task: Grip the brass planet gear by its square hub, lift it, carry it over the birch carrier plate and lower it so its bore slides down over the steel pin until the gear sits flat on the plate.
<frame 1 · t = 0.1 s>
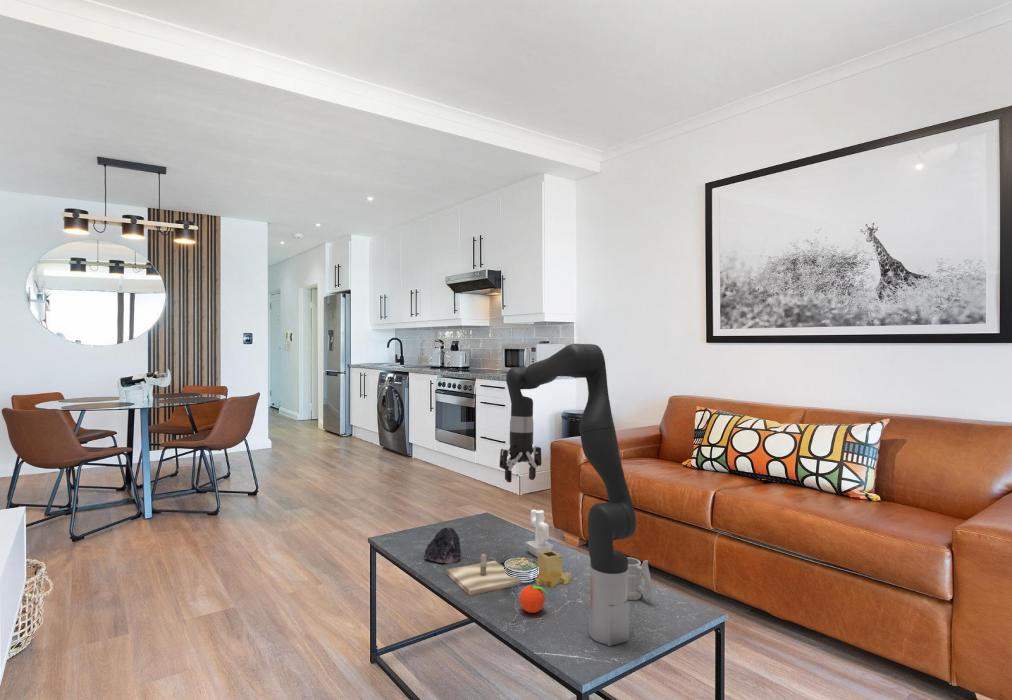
hand: (520, 480, 182), 29 cm above the table, tool pointing down, fingers open, 8 cm apart
planet gear: (549, 578, 177), on the table
figurine: (538, 554, 198), on the table
mug: (634, 598, 165), on the table
black rock: (443, 558, 193), on the table
clementine: (533, 612, 155), on the table
carrier plate: (483, 579, 175), on the table
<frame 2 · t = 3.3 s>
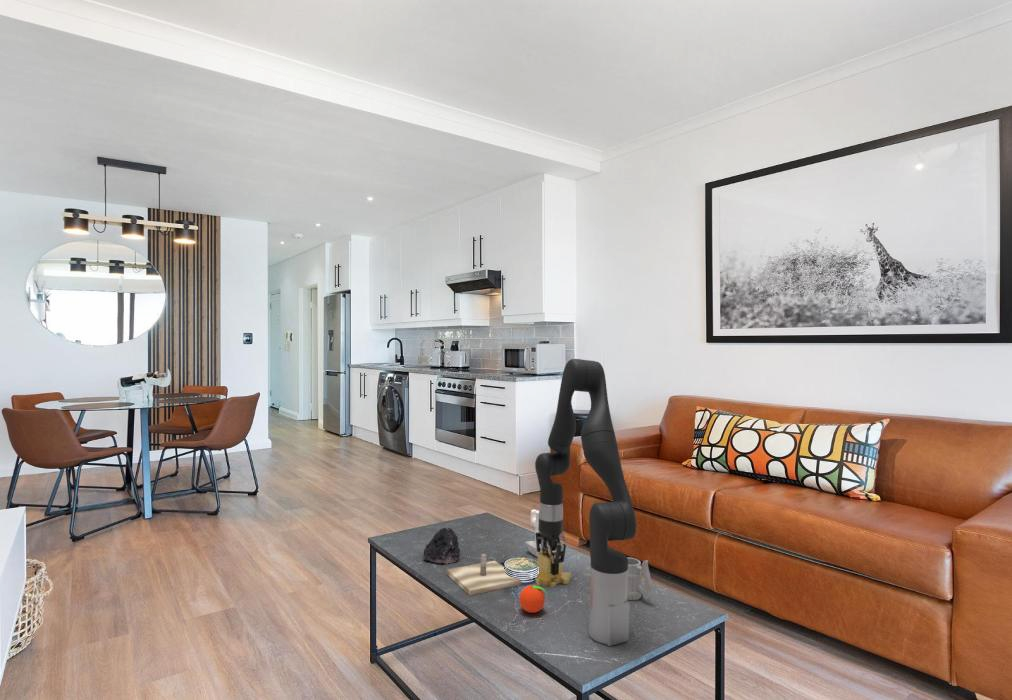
hand: (549, 570, 177), 2 cm above the table, tool pointing down, fingers closed on planet gear, 5 cm apart
planet gear: (549, 578, 177), on the table, touching gripper
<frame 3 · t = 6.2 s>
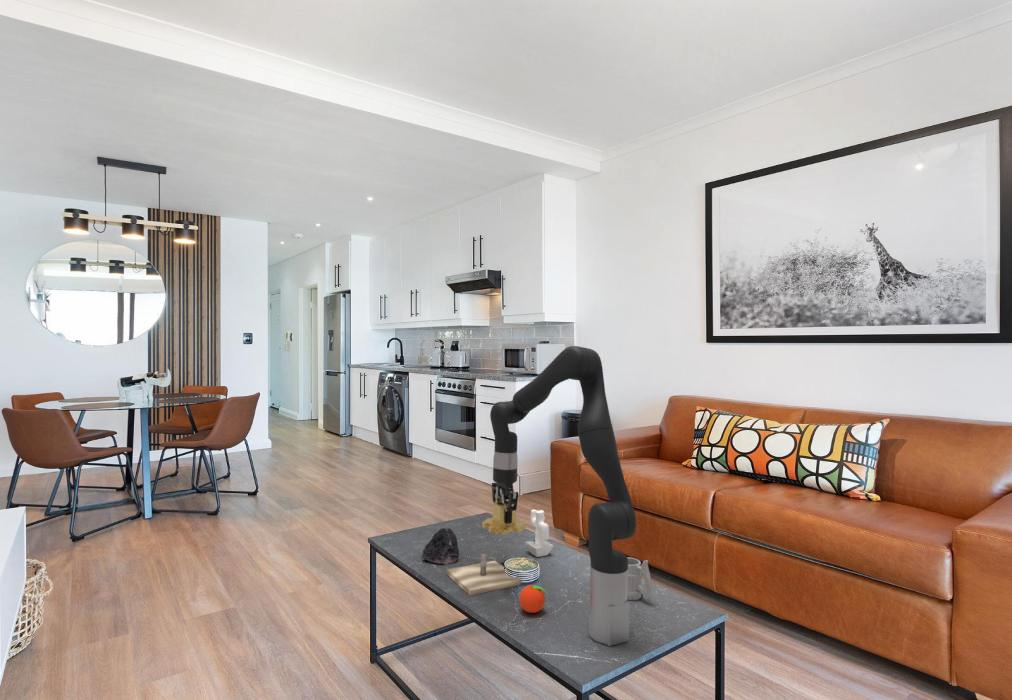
hand: (503, 520, 177), 18 cm above the table, tool pointing down, fingers closed on planet gear, 5 cm apart
planet gear: (503, 527, 177), point 16 cm above the table, touching gripper
when the fingers open (5 cm above the table, at t = 9.2 s): planet gear stays where it is, resting on carrier plate.
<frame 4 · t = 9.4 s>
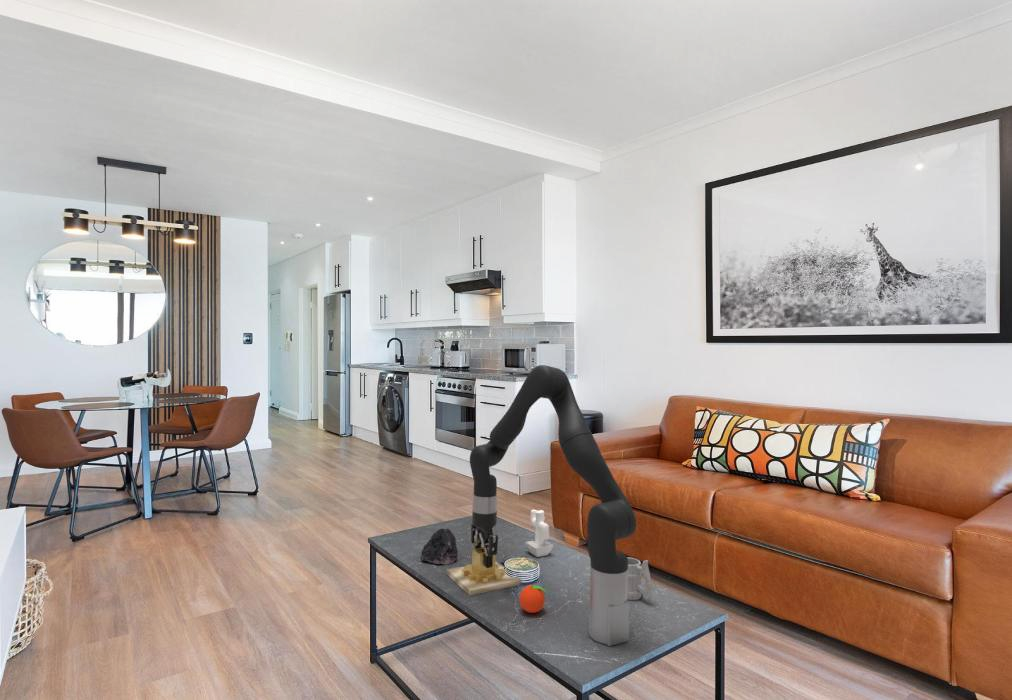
hand: (483, 563, 175), 5 cm above the table, tool pointing down, fingers open, 6 cm apart
planet gear: (483, 574, 175), point 1 cm above the table, touching carrier plate
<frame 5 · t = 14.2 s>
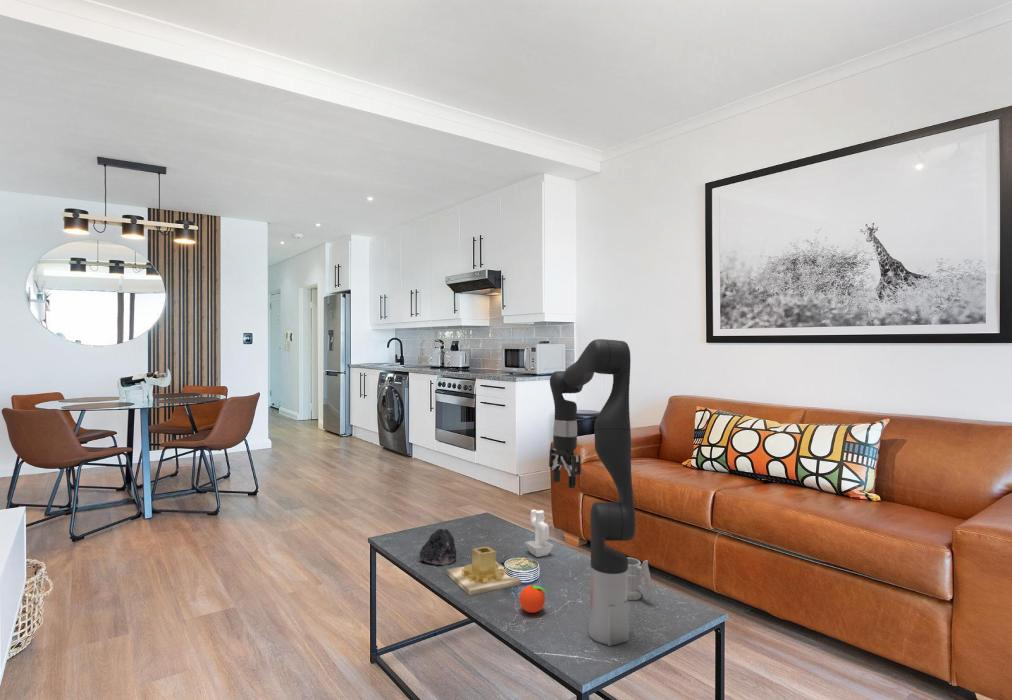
hand: (563, 484, 182), 28 cm above the table, tool pointing down, fingers open, 8 cm apart
at the end: planet gear 0.1 cm off-centre on the carrier plate, point 1.5 cm above the carrier plate's base; planet gear tilted 0°; the gripper is holding nothing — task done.
